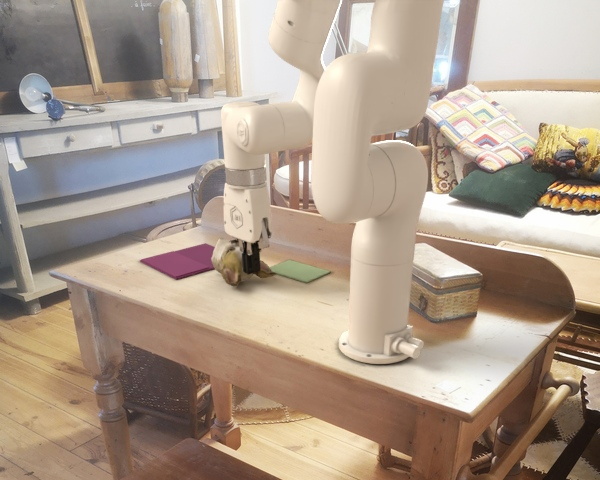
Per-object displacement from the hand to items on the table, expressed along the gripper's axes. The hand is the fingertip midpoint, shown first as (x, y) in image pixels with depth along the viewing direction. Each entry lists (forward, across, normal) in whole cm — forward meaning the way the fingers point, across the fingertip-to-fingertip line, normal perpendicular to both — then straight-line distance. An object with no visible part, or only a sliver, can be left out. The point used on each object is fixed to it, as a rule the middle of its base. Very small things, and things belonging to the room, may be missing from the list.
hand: (251, 271), depth 120 cm
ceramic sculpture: (+4, -6, +1) cm, 7 cm away
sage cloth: (+4, -1, +13) cm, 13 cm away
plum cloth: (+3, -23, 0) cm, 23 cm away
